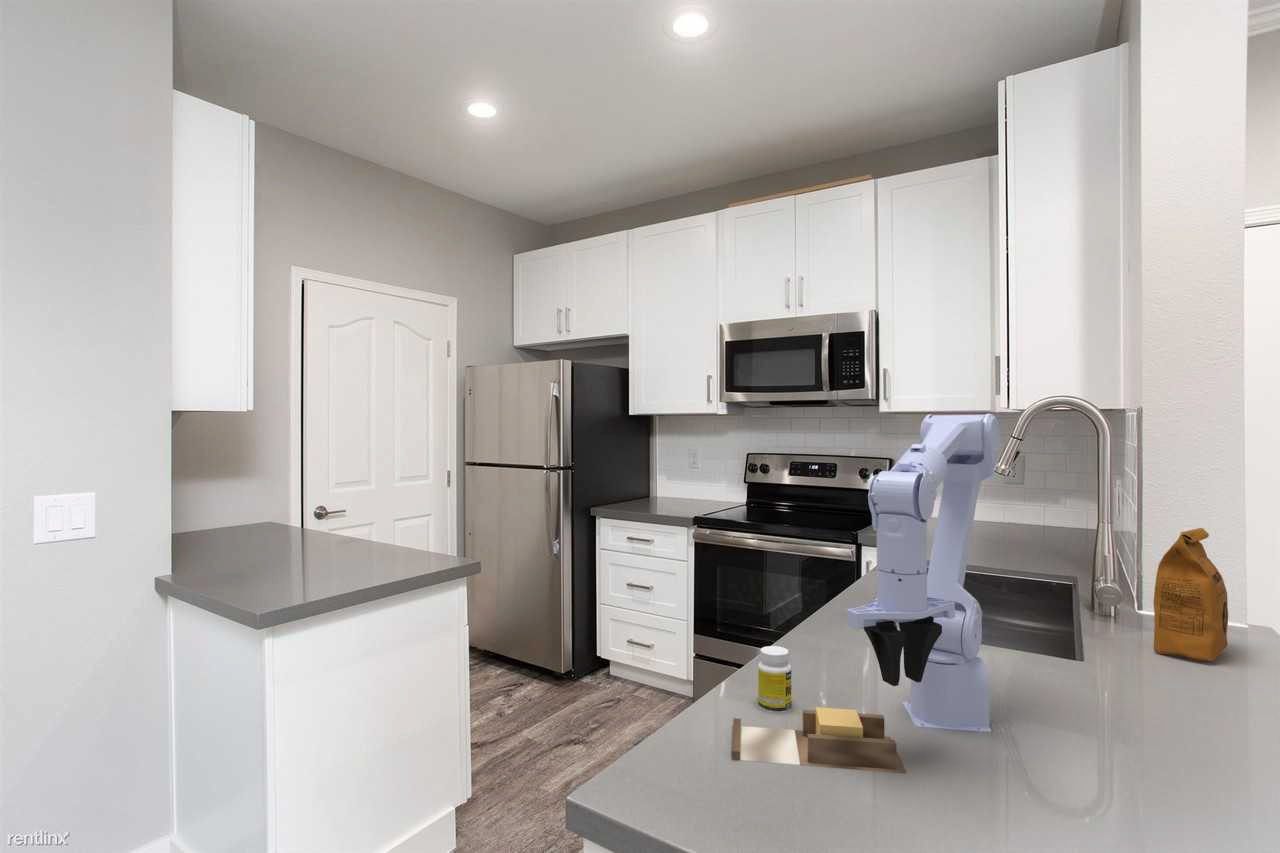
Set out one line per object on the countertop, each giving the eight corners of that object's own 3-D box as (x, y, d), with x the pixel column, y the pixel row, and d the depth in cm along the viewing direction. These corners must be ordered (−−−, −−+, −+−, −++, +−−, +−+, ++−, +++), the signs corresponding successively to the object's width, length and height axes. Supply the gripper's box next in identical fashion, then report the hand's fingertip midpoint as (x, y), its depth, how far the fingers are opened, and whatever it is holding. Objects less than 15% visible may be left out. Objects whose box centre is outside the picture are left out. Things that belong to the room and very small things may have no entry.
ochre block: (856, 741, 83) (856, 709, 83) (863, 761, 78) (863, 727, 78) (815, 738, 84) (815, 707, 84) (820, 757, 79) (819, 724, 79)
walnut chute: (890, 740, 84) (889, 713, 84) (906, 777, 76) (906, 747, 76) (733, 729, 88) (733, 703, 88) (731, 763, 79) (731, 734, 79)
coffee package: (1239, 654, 116) (1239, 530, 116) (1215, 669, 109) (1214, 537, 109) (1170, 639, 124) (1170, 523, 124) (1143, 652, 117) (1143, 529, 117)
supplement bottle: (792, 717, 91) (791, 657, 91) (757, 714, 92) (757, 654, 92) (791, 703, 96) (790, 645, 96) (758, 700, 97) (758, 643, 97)
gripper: (925, 559, 86) (925, 662, 86) (831, 567, 81) (831, 676, 81) (968, 570, 79) (968, 682, 79) (868, 579, 75) (868, 698, 75)
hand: (902, 681), depth 80 cm, fingers open, 3 cm apart
